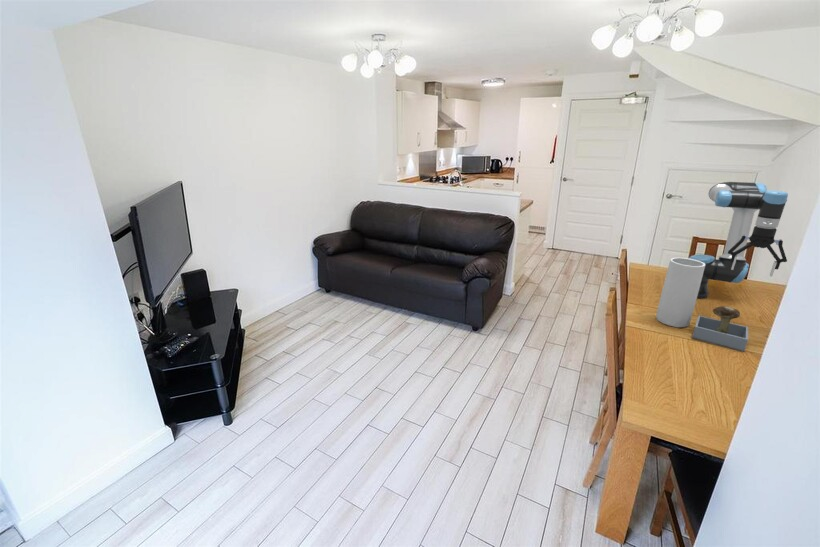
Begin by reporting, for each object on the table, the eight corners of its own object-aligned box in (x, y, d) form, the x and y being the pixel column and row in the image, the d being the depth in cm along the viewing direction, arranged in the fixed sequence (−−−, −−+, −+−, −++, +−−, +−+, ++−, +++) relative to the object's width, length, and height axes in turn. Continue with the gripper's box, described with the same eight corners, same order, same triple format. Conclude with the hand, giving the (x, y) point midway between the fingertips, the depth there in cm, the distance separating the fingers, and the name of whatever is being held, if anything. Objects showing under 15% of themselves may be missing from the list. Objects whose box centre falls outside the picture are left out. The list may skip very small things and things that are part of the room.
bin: (695, 326, 188) (698, 315, 186) (744, 338, 177) (748, 326, 175) (691, 338, 177) (695, 326, 175) (744, 352, 166) (748, 339, 164)
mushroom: (736, 343, 171) (746, 313, 166) (714, 341, 173) (723, 311, 168) (724, 333, 180) (733, 304, 175) (703, 331, 182) (712, 302, 176)
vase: (686, 318, 196) (702, 259, 185) (692, 330, 184) (709, 268, 173) (653, 313, 202) (667, 255, 191) (657, 324, 189) (672, 264, 179)
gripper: (729, 224, 174) (716, 268, 181) (806, 232, 159) (788, 280, 166) (730, 221, 179) (717, 264, 186) (804, 229, 164) (787, 276, 171)
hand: (751, 272), depth 176 cm, fingers open, 13 cm apart
